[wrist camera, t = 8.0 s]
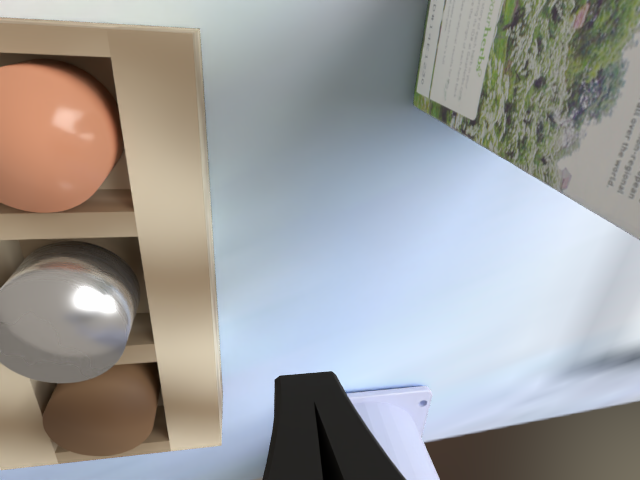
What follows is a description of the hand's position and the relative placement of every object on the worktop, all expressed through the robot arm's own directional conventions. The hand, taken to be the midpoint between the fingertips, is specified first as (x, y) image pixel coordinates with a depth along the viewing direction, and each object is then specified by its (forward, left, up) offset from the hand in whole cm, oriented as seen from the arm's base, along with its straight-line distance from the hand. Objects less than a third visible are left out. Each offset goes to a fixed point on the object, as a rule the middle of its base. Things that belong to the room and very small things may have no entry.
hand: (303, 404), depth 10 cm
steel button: (-1, +7, -7) cm, 10 cm away
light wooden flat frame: (-1, +7, -9) cm, 12 cm away
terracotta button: (+5, +7, -8) cm, 12 cm away
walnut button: (-7, +7, -8) cm, 13 cm away
